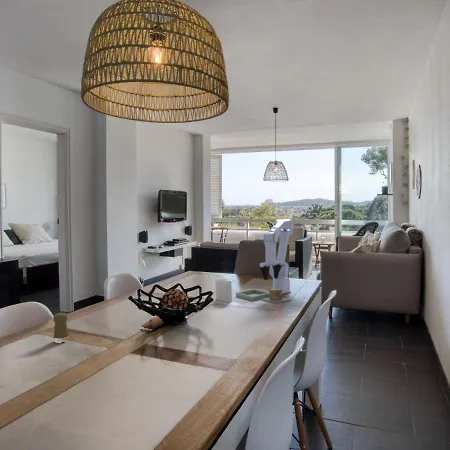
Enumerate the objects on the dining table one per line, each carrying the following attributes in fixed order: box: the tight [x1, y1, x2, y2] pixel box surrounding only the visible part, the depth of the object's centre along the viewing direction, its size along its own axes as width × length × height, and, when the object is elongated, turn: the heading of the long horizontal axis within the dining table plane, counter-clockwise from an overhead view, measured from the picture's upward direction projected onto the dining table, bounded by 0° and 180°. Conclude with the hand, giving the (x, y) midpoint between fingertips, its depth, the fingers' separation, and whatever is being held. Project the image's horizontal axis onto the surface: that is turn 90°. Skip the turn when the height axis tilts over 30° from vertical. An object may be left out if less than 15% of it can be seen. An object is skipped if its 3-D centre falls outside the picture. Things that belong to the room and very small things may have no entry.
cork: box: [52, 312, 70, 339], centre depth 154 cm, size 6×6×11 cm
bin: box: [235, 288, 270, 302], centre depth 218 cm, size 14×14×2 cm
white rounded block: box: [215, 277, 233, 303], centre depth 211 cm, size 10×4×12 cm, turn 39°
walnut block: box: [269, 288, 283, 300], centre depth 208 cm, size 4×5×5 cm
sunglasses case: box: [141, 316, 164, 330], centre depth 172 cm, size 18×7×7 cm, turn 156°
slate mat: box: [261, 296, 292, 305], centre depth 208 cm, size 11×11×1 cm
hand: (270, 279), depth 214 cm, fingers open, 7 cm apart
